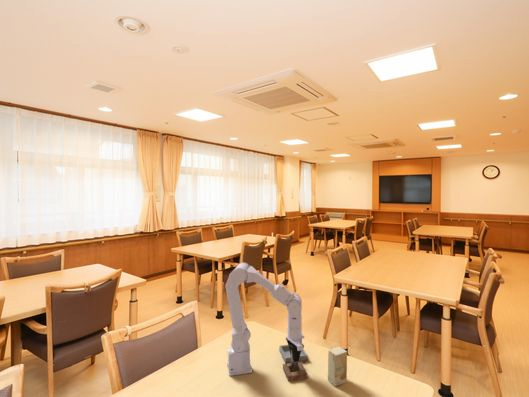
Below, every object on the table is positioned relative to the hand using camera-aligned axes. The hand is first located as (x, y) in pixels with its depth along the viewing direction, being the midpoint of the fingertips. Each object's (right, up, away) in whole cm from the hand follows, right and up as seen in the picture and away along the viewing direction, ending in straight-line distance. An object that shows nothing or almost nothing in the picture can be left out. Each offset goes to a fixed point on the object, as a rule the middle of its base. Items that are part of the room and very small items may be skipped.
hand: (294, 358), depth 116 cm
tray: (+1, -6, +13) cm, 14 cm away
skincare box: (+16, -7, -5) cm, 18 cm away
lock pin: (0, -3, 0) cm, 3 cm away
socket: (0, -6, 0) cm, 6 cm away
